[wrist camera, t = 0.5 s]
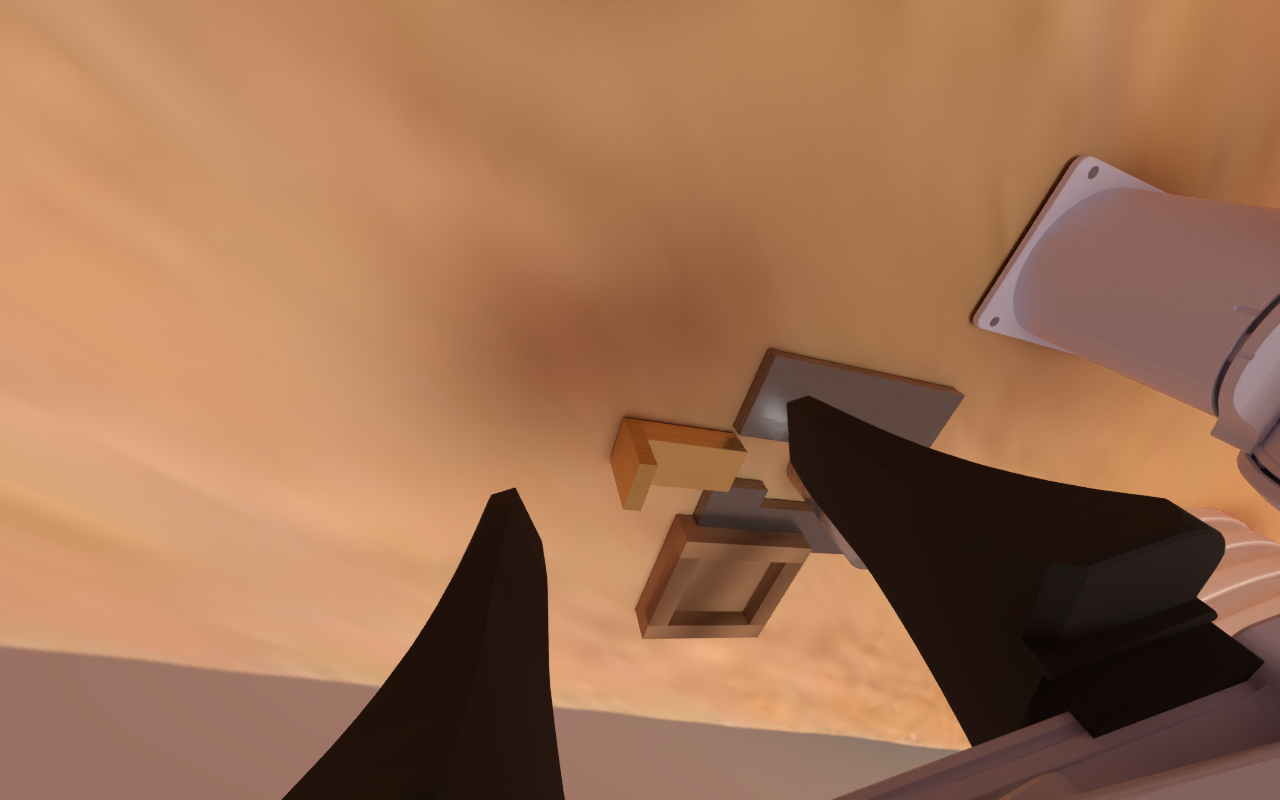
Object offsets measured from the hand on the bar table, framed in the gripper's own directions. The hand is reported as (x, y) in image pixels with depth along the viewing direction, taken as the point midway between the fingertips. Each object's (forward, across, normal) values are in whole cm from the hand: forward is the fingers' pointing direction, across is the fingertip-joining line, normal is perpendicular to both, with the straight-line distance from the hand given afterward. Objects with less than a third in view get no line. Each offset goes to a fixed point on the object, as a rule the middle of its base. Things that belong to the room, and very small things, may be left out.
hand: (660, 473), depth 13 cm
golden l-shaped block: (+9, -2, +7) cm, 12 cm away
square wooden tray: (+10, -2, +17) cm, 20 cm away
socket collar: (+10, -9, +12) cm, 18 cm away
